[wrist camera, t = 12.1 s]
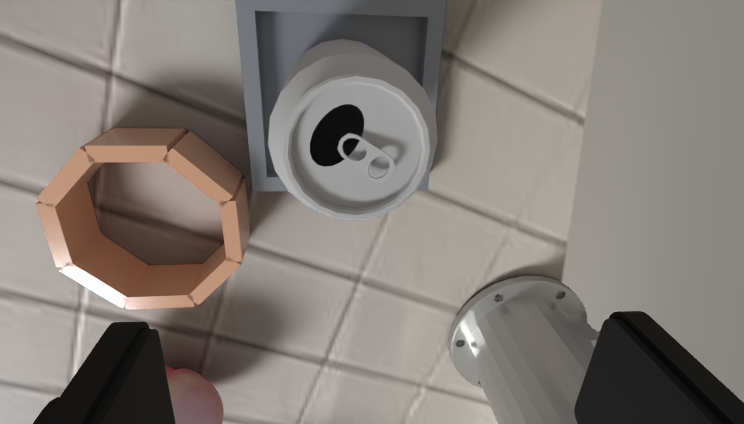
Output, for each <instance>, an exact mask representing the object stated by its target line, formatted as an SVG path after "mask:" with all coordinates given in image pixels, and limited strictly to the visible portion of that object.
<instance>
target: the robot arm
mask: <svg viewBox="0 0 744 424" xmlns="http://www.w3.org/2000/svg"><path fill="white" fill-rule="evenodd" d="M448 341H449V352H450V355H451V359H452V361H453V363H454V365H455V368H456V370H457V371H458V372H459V373H460V375H461V376H462V377H463V378H464V379H466V380H467V381H468V382H470V383H471V384H473V385H475V386H478V387H481V388H483V390H484V392H485V395H486V397H487V399H488V402H489V404H490V406H491V408H492V411H493V413H494V415H495V418H496V420H497V422H498V424H744V403H743V402H742V401H741V400H740V399H739V398H738V397H737V396H736V395H734V394H733V393H732V392H731V391H730V390H729V389H728V388H727V387H726V386H725V385H724V384H723V383H721V382H720V381H719V380H718V379H717V378H716V377H715V376H714V375H713V374H712V373H711V372H710V371H708V370H707V369H706V368H705V367H704V366H703V365H702V364H701V363H700V362H698V361H697V359H695V358H694V357H693V356H692V355H691V354H690V353H689V352H688V351H687V350H686V349H684V348H683V347H682V346H681V345H680V344H679V343H678V342H677V341H676V340H675V339H674V338H673V337H671V336H670V335H669V334H668V333H667V332H666V331H665V330H664V329H663V328H662V327H661V326H660V325H658V324H657V323H656V322H655V321H654V320H653V319H652V318H651V317H650V316H649V315H647V314H646V313H644V312H641V311H632V312H631V311H629V312H614V313H613V314H611V315H610V317H609V319H606V320H605V321H604V323H603V325H602V328H601V331H600V332H597V331H596V330H594V329H592V328H591V326H590V325H589V324H588V323H587V316H586V311H585V308H584V306H583V304H582V302H581V301H580V299H579V298H578V297H577V295H576V294H575V293H574V292H573V291H572V290H570V288H569V287H567V286H566V285H564V284H563V283H561V282H560V281H557V280H554V279H551V278H549V277H543V276H520V277H515V278H510V279H506V280H504V281H501V282H498V283H495V284H493V285H492V286H490V287H488V288H486V289H484V290H482V291H481V292H480V293H478V294H477V295H476V296H474V297H473V298H472V299H471V300H470V301H469V302H468V303H467V304H466V305H465V306H464V307H463V308H462V309H461V311H460V312H459V314H458V315H457V317H456V318H455V320H454V322H453V325H452V327H451V329H450V334H449V339H448ZM33 424H176V423H175V418H174V412H173V407H172V402H171V396H170V391H169V386H168V380H167V375H166V370H165V364H164V359H163V354H162V348H161V343H160V338H159V333H158V331H157V330H156V329H150V328H149V325H148V324H147V323H146V322H114V323H112V324H111V325H110V326H109V327H108V328H107V330H106V331H105V332H104V334H103V335H102V337H101V338H100V340H99V341H98V343H97V344H96V345H95V347H94V348H93V350H92V351H91V353H90V354H89V356H88V357H87V359H86V360H85V361H84V363H83V364H82V366H81V367H80V369H79V370H78V372H77V373H76V374H75V376H74V377H73V379H72V380H71V382H70V383H69V385H68V386H67V388H66V389H65V390H64V392H63V393H62V395H61V396H60V397H57V398H55V399H53V400H52V401H50V402H49V403H48V404H47V406H46V407H45V408H44V409H43V410H42V411H41V413H40V414H39V416H38V417H37V419H36V420H35V421H34V423H33Z"/></svg>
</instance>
